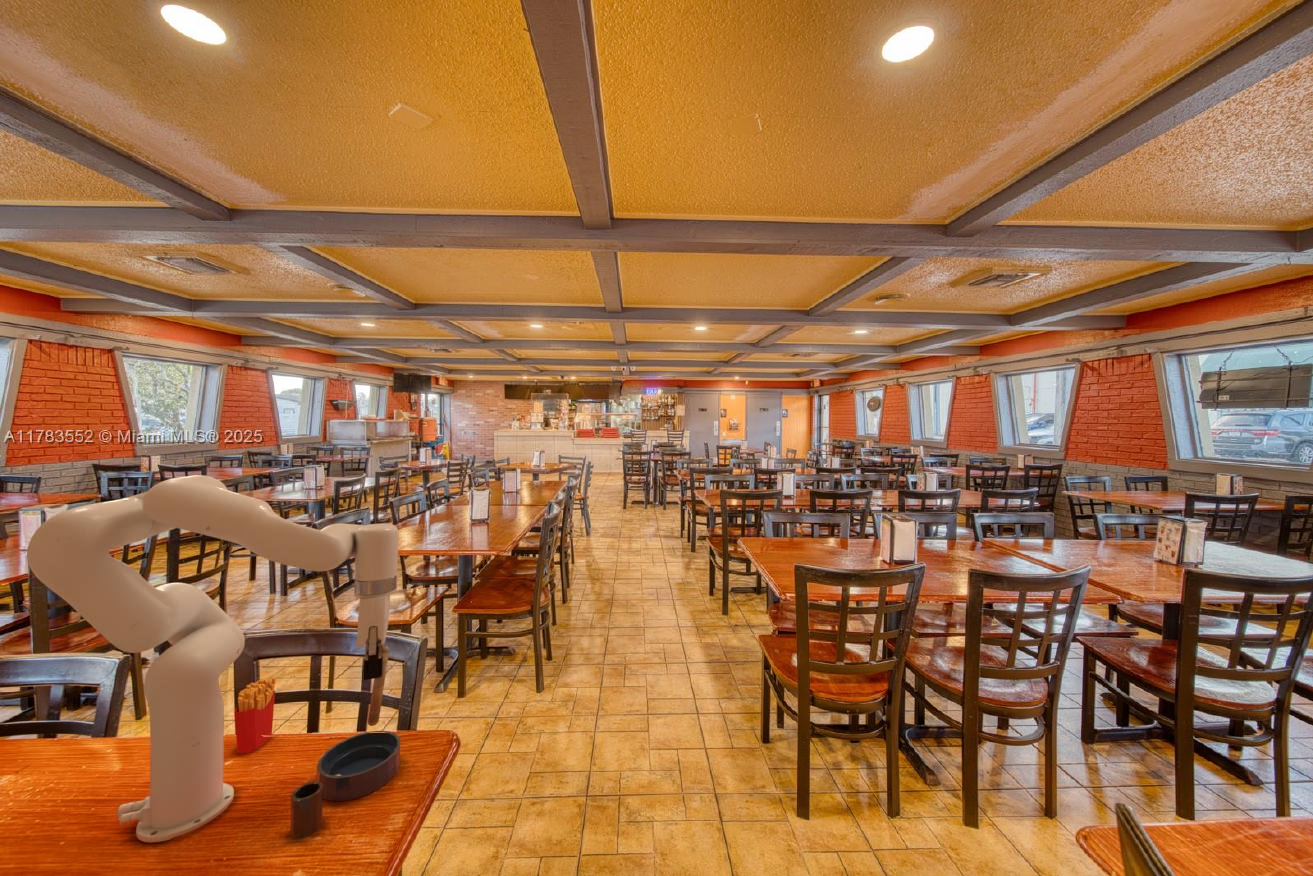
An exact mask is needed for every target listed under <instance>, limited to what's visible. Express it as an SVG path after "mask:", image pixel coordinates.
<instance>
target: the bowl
mask: <svg viewBox="0 0 1313 876" xmlns="http://www.w3.org/2000/svg"><path fill="white" fill-rule="evenodd" d="M369 732H385V733H369ZM391 732H392V731H390V730H389V731H387V730H373V731H367V732H363V733H358V734H355V735H353V736H349V737H347V738H345V739H343V740H342V741H341V740H340V742H338V743H336V744H334V745H333V746H331V747H330V748H329V749H327V750H326V751H325V752H324V753H323V754H322V756H321V757H320V758H319V759H318V763H317V766H316V782H321V783H322V784H323V800H325V801H331V802H332V801H333V802H343V801H344V802H345V801H351V800H354V799H358V798H361V797H365V796H366V795H369V794H371V793H373V792H375V791H377V790H379V789H381V788H382V787H383V786H384V785H386V784H387V783H389V782H390V781H391V780H392V779H393V778H394V776H396V775H397V773H398V771H399V770H400V767H401V745H402V743H401V742H402V741H401V738H400V737H399V736H398V734H396V733H395V732H392V733H391ZM337 774H340V775H342V776H335V775H337Z"/></svg>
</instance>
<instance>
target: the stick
mask: <svg viewBox="0 0 1313 876" xmlns="http://www.w3.org/2000/svg"><path fill="white" fill-rule="evenodd" d="M382 656H383V663H382V676H381V677H379V678H374V679H373V684H372V691H371V697H370V704H369V710H368V717H367V725H368V726H370V727H374V726H376V725H377V724H378V723H379V721H380V716H381V710H382V709H381V708H382V703H383V697H384V696H383V695H384V689H385V681H386V676H387V668H388V661H389V656H390V647H389V646H388V645H382V647H381V657H382Z"/></svg>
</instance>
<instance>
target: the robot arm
mask: <svg viewBox="0 0 1313 876" xmlns="http://www.w3.org/2000/svg"><path fill="white" fill-rule="evenodd" d="M175 529H180V530H184V531H187V532H190V533H191V532H192V533H196V534H198V535H199V534H200V535H202V536H203V535H204V536H208V537H211V538H215V539H219V540H223V541H225V542H231V543H234V544H237V545H240V546H242V547H243V548H245V549H246V550H247V551H249V552H251V553H253V554H255V555H257V556H259V557H261V558H263V559H266V560H268V561H271V562H274V563H277V564H279V565H284V566H288V567H293V568H295V569H300V570H305V571H310V572H326V571H331V570H334V569H336V568H338V567H339V566H340V565H342V564H343V563H344V562H345V561H347V560H349V559H351V558H354V588H353V589H354V590H353V591H354V593H353V595H354V597H356V598H359V602H358V603H359V604H358V613H357V614H358V617H357V633H356V635H357V636H356V648H357V649H358V650H361V649H362V648H364V647H365V651H364V654H365V655H364V660H363V680H364V681H368V680H374V678H379V677H381V676H382V663H383V656H382V657H381V647H382V646H384V644H385V643H386V639H387V633H388V629H389V628H388V627H389V621H390V605H391V595H392V594H394V593H396V592H397V590H398V561H399V560H398V559H399V528H398V527H397V526H396V525H395V524H392V523H372V524H371V523H370V524H354V523H344V522H342V523H341V522H340V523H332V524H329V525H327V526H325V527H323V528H322V529H317V528H313V527H310V526H306V525H302V524H299V523H295V522H292V521H290V520H289V519H288V520H287V519H285V518H283V517H282V516H279V515H278V514H277V513H276V512H275V511H274V510H273V508H272V506H271V505H270V504H269V503H268V502H267V501H265V500H262V499H260V498H256V497H252V496H249V495H245V494H241V493H239V492H234V491H231V490H228V488H227V486H226V485H225V484H224V483H223V482H222V481H221V480H219V479H217V478H215V477H212V476H209V475H203V474H200V475H199V474H198V475H197V474H196V475H189V476H182V477H173V478H169V479H165V480H163V481H160V482H158V483H156V484H154V485H153V486H152V487H151V488H149V489H148V491H144V492H141V493H138V494H135V495H134V494H133V495H131V496H127V497H123V498H120V499H114V500H109V501H108V500H107V501H101V502H96V503H90V504H84V505H80V506H76V507H75V506H74V507H71V508H69V509H66V510H63V511H60V512H59V513H57V514H55V515H53V516H51V517H50V518H47V520H45V521H44V522H43V523H42V524H41V525H39V526H38V528H37V529H35V531H34V533H33V534H32V536H31V538H30V540H29V542H28V546H27V551H26V558H27V563H28V566H29V568H30V570H31V572H32V573H33V575H34V576H35V577H36V578H37V579H38V580H39V581H40V582H41V583H42V584H43V585H44V586H45V587H46V588H48V589H49V590H51V591H52V592H53V593H54V594H55V595H57V596H58V597H59V598H61V599H62V600H64V601H65V602H66V603H67V604H68V605H69V606H71V607H72V609H74V610H75V611H76V613H78V614H79V615H80V616H81V617H82V618H83V619H84V620H85V621H86V622H87V623H88V624H89V625H91V626H92V628H94V629H95V630H96V631H97V632H98V633H99V634H101V636H102V637H104V638H105V639H106V641H108V642H109V643H110V644H111V645H113V646H114V647H115V648H117V649H119V650H120V651H123V652H124V653H131V654H139V653H143V652H146V651H150V650H152V649H154V648H156V647H158V646H160V645H161V644H163V643H165V642H166V641H167V642H168V643H169V644H170V645H171V646H170V647H168V648H167V649H165V650H164V651H163V652H162V653H161V654H159V656H158V657H156V658H155V660H154V661H153V662H152V663H151V664H150V666H149V668H148V669H147V671H146V675H145V676H144V682H143V690H144V694H145V698H146V702H147V707H148V713H149V714H148V715H149V741H150V748H149V751H150V752H149V753H150V756H149V757H150V758H149V759H150V760H149V761H150V763H149V796H146V797H145V798H144V799H142V800H138V801H132V802H128V803H123V804H120V806H119V807H118V808H117V811H116V812H117V813H116V818H117V819H119V825H123V824H127V823H131V822H134V821H137V820H138V823H137V825H136V827H135V836H136V838H137V839H138V840H139V841H141V842H143V843H161V842H166V841H171V840H172V839H173V838H177V837H180V836H182V835H185V834H188V833H190V832H192V831H195V830H197V829H199V828H200V827H202V826H204V825H206V824H208V823H209V822H211V821H212V820H214V819H216V817H218V816H219V815H221V814H222V813H223V812H224V811H225V810H226V809H227V808H228V807H229V806H230V805H231V804H232V802H233V800H234V797H235V789H234V787H233V786H232V785H231V784H228V783H225V782H224V765H225V764H224V763H225V762H224V759H225V757H224V755H225V704H224V697H223V693H222V690H221V686H220V677H221V675H222V674H223V673H225V671H226V670H227V669H228V668H229V667H230V666H231V665H232V664H234V663H235V662H236V661H237V660H238V658H239V657H240V656H241V654H242V653H243V651H244V649H245V644H246V639H245V638H246V637H245V634H244V632H243V630H242V629H241V628H240V626H239V625H238V624H237V623H236V621H234V620H233V618H232V617H231V616H229V615H228V614H227V613H226V611H224V610H223V608H221V607H220V606H219V605H218V604H217V603H216V602H215V601H214V600H213V599H212V597H210V596H209V595H208V594H207V593H206V592H205V591H204V590H202V589H200V588H199V587H197V586H195V585H192V584H189V583H186V582H169V583H164V584H161V585H159V586H156V587H155V586H154V585H152V584H151V583H150V582H148V581H147V580H146V579H145V578H144V577H143V576H142V575H141V573H139V572H138V570H136V569H135V568H134V567H132V566H130V565H129V564H127V563H125V562H124V561H121V560H119V559H117V558H115V557H113V556H112V555H111V554H110V551H111V550H113V549H117V548H120V547H124V546H126V545H130V544H134V543H137V542H140V541H143V540H146V539H148V538H152V537H154V536H158V535H160V534H163V533H166V532H169V531H172V530H175Z"/></svg>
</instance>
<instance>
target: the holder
mask: <svg viewBox="0 0 1313 876" xmlns="http://www.w3.org/2000/svg"><path fill="white" fill-rule="evenodd" d="M323 821H324V798H323V784H322V783H321V782H317V780H315V781H314V780H313V781H309V782H307V783H303V784H302V785H301V786H298V787H297V788H296V789H295V790H293V791H292V793H291V796H290V837H291V838H293V839H305V838H306V837H310V836H311V835H313V834H315V833H316V832H317V831H319V829H320V828H321V826H322V825H323Z"/></svg>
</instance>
